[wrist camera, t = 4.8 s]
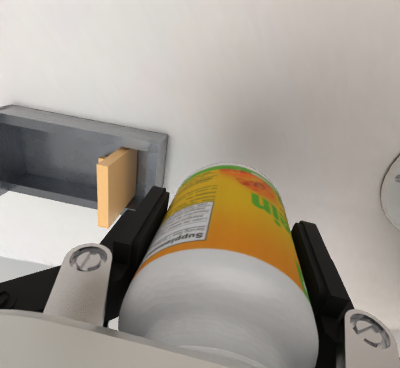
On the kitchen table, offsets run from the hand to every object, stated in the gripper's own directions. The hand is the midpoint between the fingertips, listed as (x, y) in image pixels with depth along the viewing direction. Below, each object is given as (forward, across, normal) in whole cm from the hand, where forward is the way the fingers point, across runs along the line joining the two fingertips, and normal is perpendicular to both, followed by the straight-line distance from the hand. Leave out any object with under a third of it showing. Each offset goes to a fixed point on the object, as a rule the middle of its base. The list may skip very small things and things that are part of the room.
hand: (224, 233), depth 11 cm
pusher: (+16, +12, +6) cm, 21 cm away
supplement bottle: (+2, 0, 0) cm, 2 cm away
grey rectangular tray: (+17, +16, +6) cm, 24 cm away
